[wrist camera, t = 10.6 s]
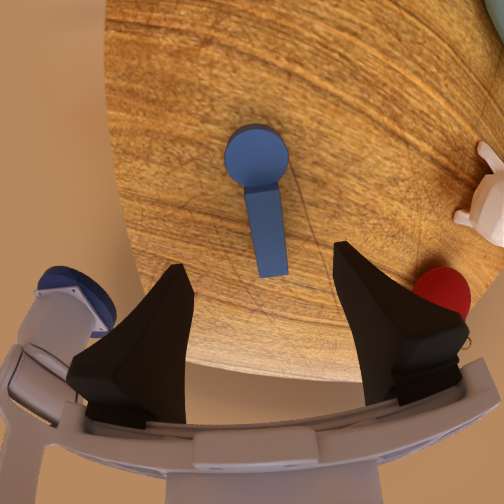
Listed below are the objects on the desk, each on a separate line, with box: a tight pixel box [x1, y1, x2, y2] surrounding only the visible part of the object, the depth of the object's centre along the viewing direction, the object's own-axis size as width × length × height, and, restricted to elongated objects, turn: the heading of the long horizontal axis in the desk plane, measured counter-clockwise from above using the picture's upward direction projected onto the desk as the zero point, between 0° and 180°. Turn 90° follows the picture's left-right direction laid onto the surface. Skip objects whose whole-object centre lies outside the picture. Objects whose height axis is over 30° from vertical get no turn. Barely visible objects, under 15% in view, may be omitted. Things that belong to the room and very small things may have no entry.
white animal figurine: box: [453, 141, 504, 247], centre depth 16 cm, size 9×8×15 cm
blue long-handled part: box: [224, 124, 289, 278], centre depth 19 cm, size 11×4×3 cm, turn 9°
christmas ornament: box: [412, 267, 471, 350], centre depth 21 cm, size 7×7×10 cm
